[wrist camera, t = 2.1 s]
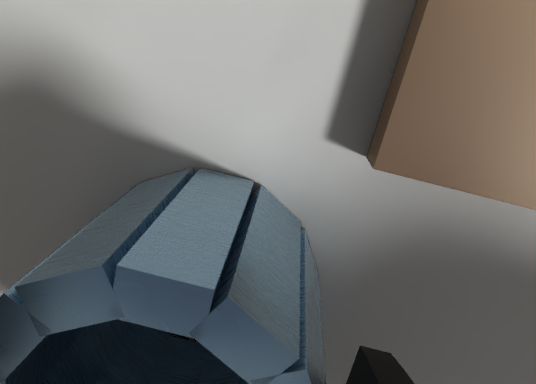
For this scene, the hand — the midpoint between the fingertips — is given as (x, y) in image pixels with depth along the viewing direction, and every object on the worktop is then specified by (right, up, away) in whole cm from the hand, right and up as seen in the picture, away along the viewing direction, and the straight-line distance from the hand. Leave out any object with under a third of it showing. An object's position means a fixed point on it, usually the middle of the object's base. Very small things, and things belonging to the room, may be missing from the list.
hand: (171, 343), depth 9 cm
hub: (0, +1, +3) cm, 3 cm away
